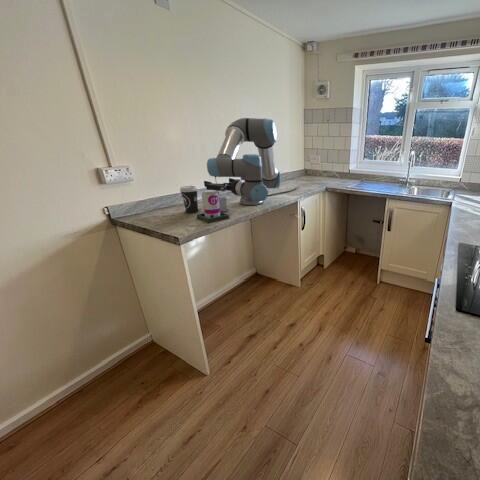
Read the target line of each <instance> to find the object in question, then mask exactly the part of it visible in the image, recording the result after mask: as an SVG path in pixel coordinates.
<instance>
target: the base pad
mask: <svg viewBox="0 0 480 480" xmlns="http://www.w3.org/2000/svg"><path fill="white" fill-rule="evenodd" d="M196 219H198V220H199V221H203V222H205V223H207V224H210V223H215V222H220V221H223V220H227V219H230V215H229V214H228V213H225V212H224V211H221V212H220V216H219V217H214V218H210V219H208V218H206V217H205V214H204V212H203V213H197V214H196Z"/></svg>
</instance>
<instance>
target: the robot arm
mask: <svg viewBox="0 0 480 480" xmlns="http://www.w3.org/2000/svg"><path fill="white" fill-rule="evenodd" d="M224 136H225V137H224V139H223V142H222V144H221V147H220V149H219V151H218V152H217V153H218V154H217V155H216V157H212V158H208V159H207V162H206V170H207V173H208V175H209V176H210V177H214V176H215V177H216V178H228V182H223V183H218V182H212V181H208V180H203V185H204V188H205V189H206V190H219V192H225V191H229V192H231V193H232V194H233V195H235V196H238V197H240V199H239V203H240V205H243V206H259V205H262V204H263V202H264V201H265V200H266V199H268V197H270V196H276V195H281V194H286V193H290V192H292V191H295V190H297V189H298V188H299V187H298V186H299V185H297V186H296V187H298V188H296V187H294V188H292V189H293V190H292V189H290V191H289V190H286V191H281V192H276V193H272V194H269V189H273V190H274V189H279V188H280V186H281V171H280V170H278V168H277V167H276V163H275V156H274V145H275V143H276V142H277V141H278V133H277V127H276V123H275V121H274V120H273V119H272V118H266V117H265V118H255V117H243V118H241V117H240V118H238V119H236V120H235V121H233V122H231V123H230V124H229V125H228V126H227V128H226V129H225V132H224ZM246 142H247V143H253V144H254V146H255V147H256V148H257V152H258V154H256V153H244V154H243V155H242V158H237V157H238V153H239V150H240V146H241V145H242V144H243V143H246ZM215 177H214V178H215ZM235 178H236V179H235ZM239 178H240V179H239Z"/></svg>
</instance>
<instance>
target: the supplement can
mask: <svg viewBox="0 0 480 480" xmlns="http://www.w3.org/2000/svg"><path fill="white" fill-rule="evenodd" d="M218 196H219V194H218V193H217V191H216V190H207V189H204V190H202V192H201V198H202V206H203V213H204V214H205V217H206V218H208V219H210V218H214V217H219V216H220V207H219V198H218Z"/></svg>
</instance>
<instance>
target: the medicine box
mask: <svg viewBox="0 0 480 480" xmlns="http://www.w3.org/2000/svg"><path fill="white" fill-rule="evenodd" d="M218 196H219V197H218V198H219V207H220V212H228V203H227V197H226V196H225V195H218Z"/></svg>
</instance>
